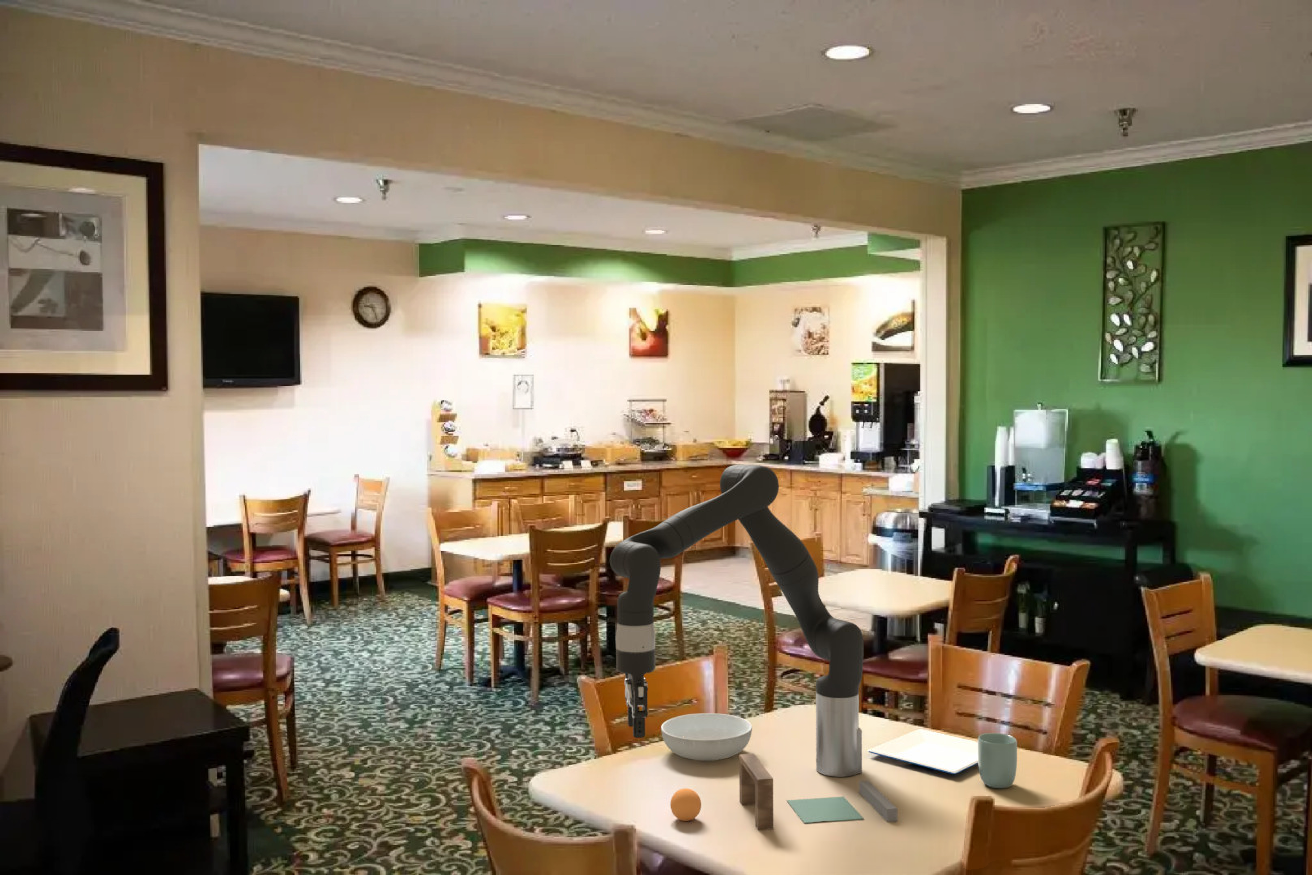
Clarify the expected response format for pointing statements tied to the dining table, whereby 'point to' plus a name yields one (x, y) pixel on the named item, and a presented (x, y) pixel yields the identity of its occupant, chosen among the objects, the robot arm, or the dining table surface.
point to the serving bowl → (706, 735)
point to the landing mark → (824, 809)
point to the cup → (997, 759)
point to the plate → (931, 751)
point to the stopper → (878, 800)
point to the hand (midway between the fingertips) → (636, 731)
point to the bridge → (756, 789)
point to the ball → (685, 804)
